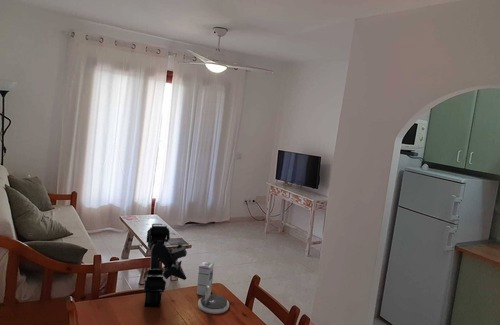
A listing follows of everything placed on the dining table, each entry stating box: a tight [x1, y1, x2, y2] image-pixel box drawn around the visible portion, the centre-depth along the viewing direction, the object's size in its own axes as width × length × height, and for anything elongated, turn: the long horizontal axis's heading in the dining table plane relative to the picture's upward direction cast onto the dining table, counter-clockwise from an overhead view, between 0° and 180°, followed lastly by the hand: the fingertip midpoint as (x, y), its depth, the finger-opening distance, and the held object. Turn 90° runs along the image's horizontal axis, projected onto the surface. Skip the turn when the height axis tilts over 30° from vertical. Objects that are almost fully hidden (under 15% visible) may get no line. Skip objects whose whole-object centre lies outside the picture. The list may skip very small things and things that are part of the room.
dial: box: [200, 285, 228, 309], centre depth 170 cm, size 12×12×9 cm
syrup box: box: [196, 261, 215, 297], centre depth 182 cm, size 6×6×14 cm
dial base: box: [197, 297, 230, 315], centre depth 171 cm, size 14×14×2 cm
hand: (185, 279), depth 164 cm, fingers closed
